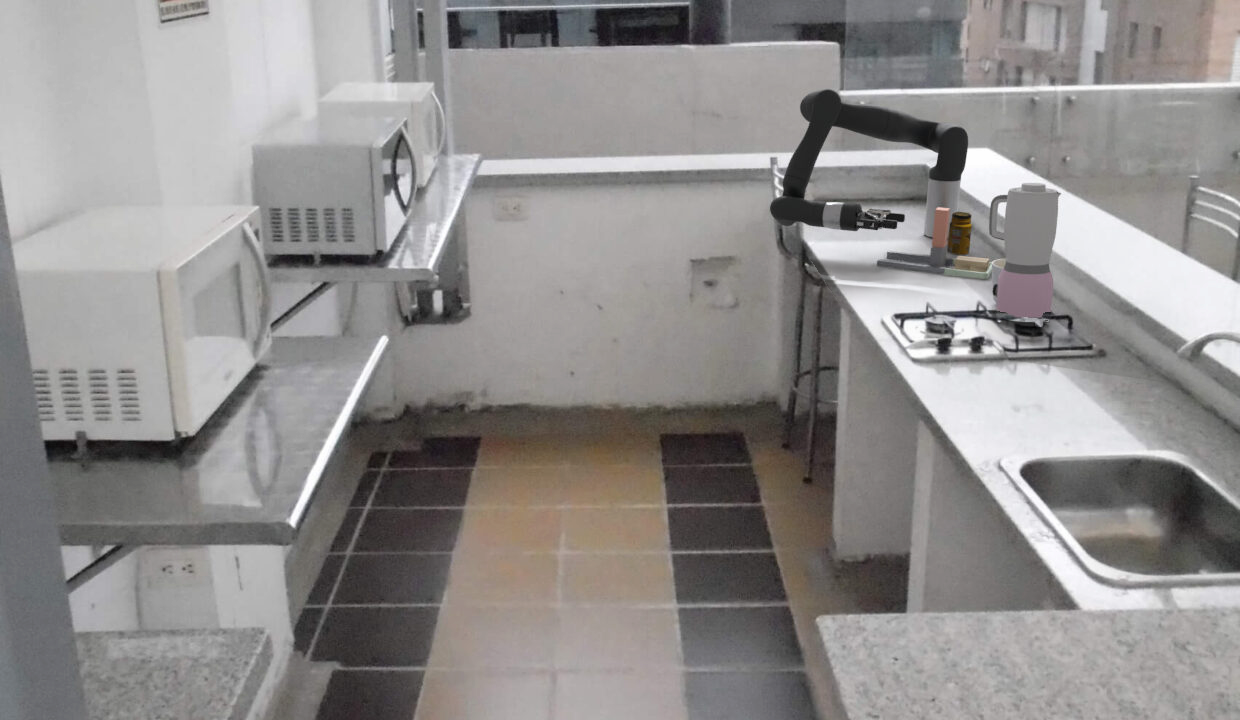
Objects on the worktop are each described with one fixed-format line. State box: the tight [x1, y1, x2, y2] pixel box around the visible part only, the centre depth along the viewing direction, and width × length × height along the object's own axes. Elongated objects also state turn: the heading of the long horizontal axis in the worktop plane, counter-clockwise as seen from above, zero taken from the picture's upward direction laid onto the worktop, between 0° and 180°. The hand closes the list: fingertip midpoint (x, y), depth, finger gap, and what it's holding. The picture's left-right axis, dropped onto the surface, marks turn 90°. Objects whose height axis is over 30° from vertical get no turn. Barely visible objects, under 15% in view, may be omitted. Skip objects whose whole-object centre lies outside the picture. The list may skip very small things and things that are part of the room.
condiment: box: [947, 211, 973, 255], centre depth 333 cm, size 7×8×12 cm
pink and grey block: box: [929, 207, 950, 267], centre depth 316 cm, size 6×3×16 cm, turn 153°
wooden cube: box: [954, 255, 975, 271], centre depth 315 cm, size 4×4×4 cm
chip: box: [970, 256, 990, 273], centre depth 314 cm, size 4×4×4 cm
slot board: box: [876, 250, 955, 275], centre depth 321 cm, size 12×18×2 cm, turn 64°
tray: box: [943, 257, 993, 280], centre depth 315 cm, size 12×11×2 cm
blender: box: [988, 182, 1062, 321], centre depth 273 cm, size 16×12×32 cm
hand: (900, 221), depth 320 cm, fingers open, 8 cm apart
